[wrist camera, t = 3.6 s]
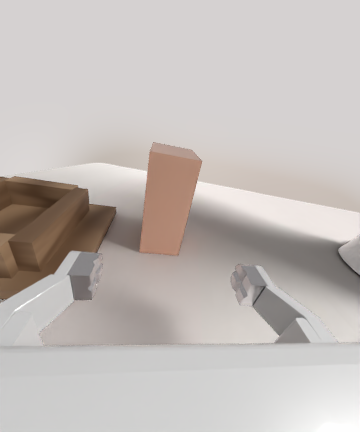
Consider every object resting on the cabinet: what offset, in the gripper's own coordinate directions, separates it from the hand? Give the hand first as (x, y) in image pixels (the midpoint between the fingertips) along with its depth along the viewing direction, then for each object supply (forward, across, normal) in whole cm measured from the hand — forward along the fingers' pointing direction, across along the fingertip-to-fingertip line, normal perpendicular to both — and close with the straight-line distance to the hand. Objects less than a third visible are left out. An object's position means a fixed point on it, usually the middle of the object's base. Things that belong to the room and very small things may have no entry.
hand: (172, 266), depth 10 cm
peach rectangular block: (+10, 0, +6) cm, 12 cm away
